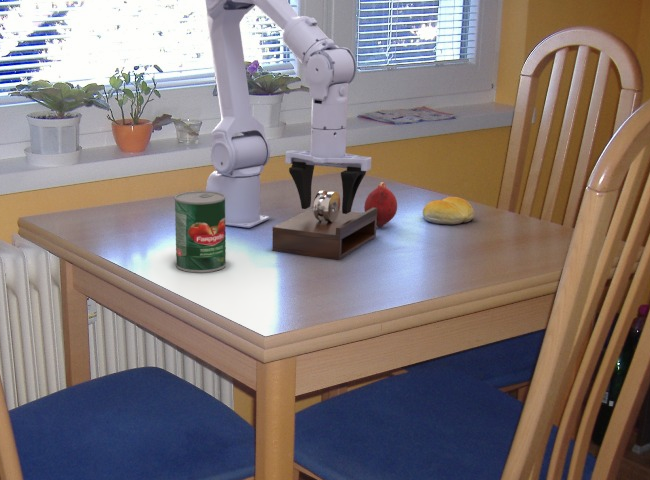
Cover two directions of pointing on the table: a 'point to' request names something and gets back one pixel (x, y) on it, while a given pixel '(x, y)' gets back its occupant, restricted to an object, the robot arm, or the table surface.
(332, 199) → the grooved metal pulley
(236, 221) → the robot arm
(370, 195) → the red squash
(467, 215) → the bread roll
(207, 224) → the canned tomato
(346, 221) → the shelf
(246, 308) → the table surface
